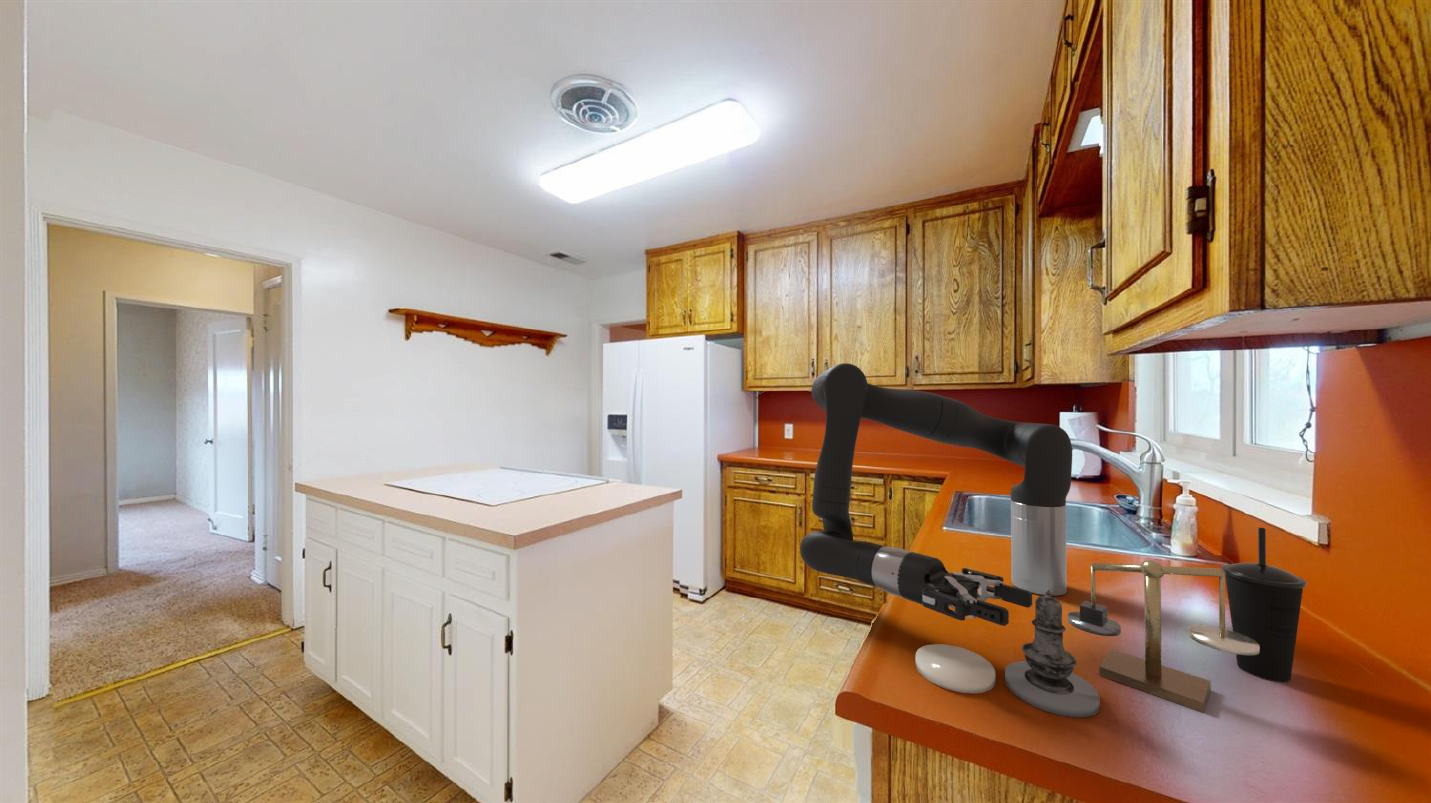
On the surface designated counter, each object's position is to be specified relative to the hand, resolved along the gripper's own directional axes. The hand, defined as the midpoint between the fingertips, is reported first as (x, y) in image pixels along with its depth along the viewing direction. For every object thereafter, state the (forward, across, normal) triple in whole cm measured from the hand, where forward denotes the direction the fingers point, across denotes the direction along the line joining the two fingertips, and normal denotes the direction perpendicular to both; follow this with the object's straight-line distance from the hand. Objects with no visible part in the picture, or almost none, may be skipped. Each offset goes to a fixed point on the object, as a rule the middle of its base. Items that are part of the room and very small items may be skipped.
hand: (1020, 608), depth 64 cm
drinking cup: (+21, +28, +10) cm, 36 cm away
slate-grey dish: (+3, 0, +10) cm, 10 cm away
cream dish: (-7, -5, +10) cm, 13 cm away
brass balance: (+12, +13, +10) cm, 20 cm away
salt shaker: (+3, 0, +9) cm, 9 cm away
